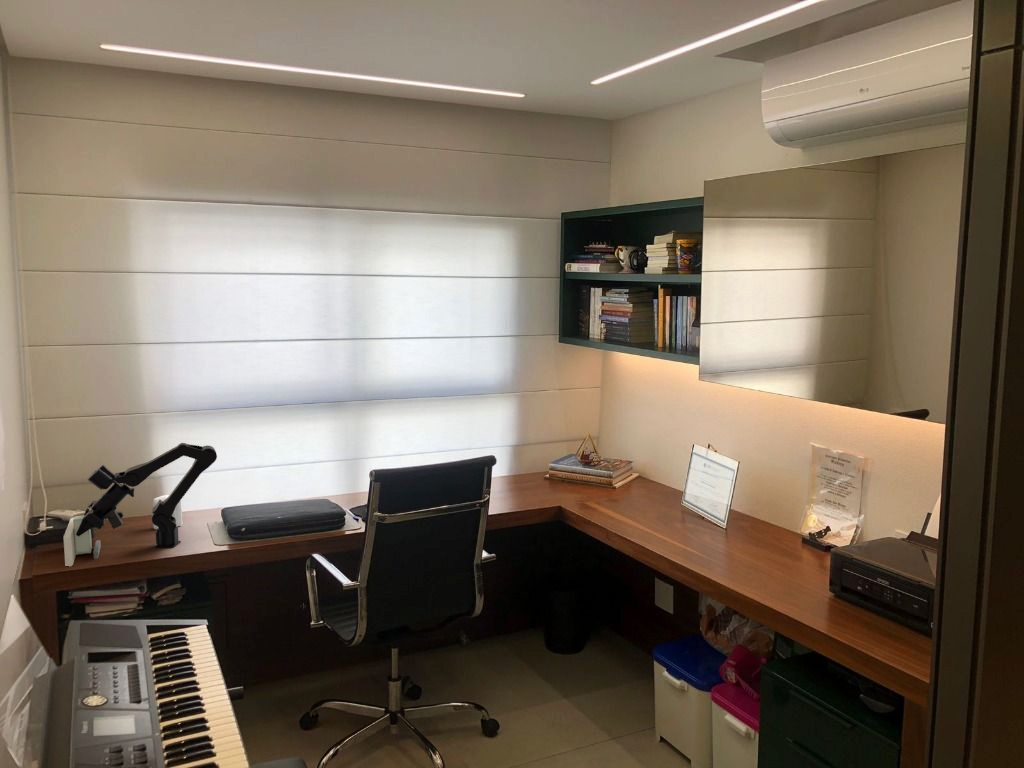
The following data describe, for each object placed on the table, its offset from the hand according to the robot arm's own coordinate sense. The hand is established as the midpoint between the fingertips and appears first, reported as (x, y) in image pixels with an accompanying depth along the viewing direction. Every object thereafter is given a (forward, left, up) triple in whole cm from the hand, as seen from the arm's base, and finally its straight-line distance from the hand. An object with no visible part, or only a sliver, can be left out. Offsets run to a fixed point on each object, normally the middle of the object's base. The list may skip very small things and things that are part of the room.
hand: (77, 533), depth 280 cm
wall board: (-2, -1, -7) cm, 8 cm away
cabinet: (-1, -1, -7) cm, 7 cm away
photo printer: (-15, -34, -8) cm, 38 cm away
